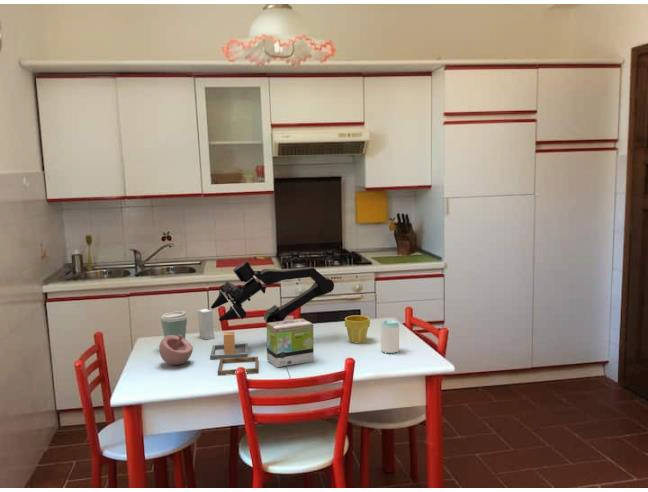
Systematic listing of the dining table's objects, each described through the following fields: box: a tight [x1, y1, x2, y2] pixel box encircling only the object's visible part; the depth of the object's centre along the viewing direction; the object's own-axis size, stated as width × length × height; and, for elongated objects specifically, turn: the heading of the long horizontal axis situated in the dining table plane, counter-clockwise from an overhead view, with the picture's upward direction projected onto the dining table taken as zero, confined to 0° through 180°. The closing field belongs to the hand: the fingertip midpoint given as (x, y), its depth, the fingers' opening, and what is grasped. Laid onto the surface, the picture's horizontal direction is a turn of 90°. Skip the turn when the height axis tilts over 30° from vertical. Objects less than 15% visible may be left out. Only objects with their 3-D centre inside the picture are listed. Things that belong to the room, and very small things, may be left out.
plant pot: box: [344, 314, 371, 343], centre depth 239 cm, size 10×10×10 cm
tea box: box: [266, 318, 314, 368], centre depth 215 cm, size 15×10×15 cm
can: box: [380, 319, 400, 354], centre depth 224 cm, size 7×7×12 cm
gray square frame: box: [209, 343, 249, 361], centre depth 227 cm, size 14×14×2 cm
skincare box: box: [197, 308, 215, 340], centre depth 249 cm, size 6×4×12 cm
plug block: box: [223, 331, 236, 354], centre depth 227 cm, size 4×4×8 cm
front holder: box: [217, 356, 259, 376], centre depth 210 cm, size 14×14×2 cm
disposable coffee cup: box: [160, 310, 188, 339], centre depth 233 cm, size 11×11×15 cm
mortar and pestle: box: [158, 334, 194, 366], centre depth 214 cm, size 12×12×11 cm
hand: (215, 314), depth 230 cm, fingers open, 9 cm apart
